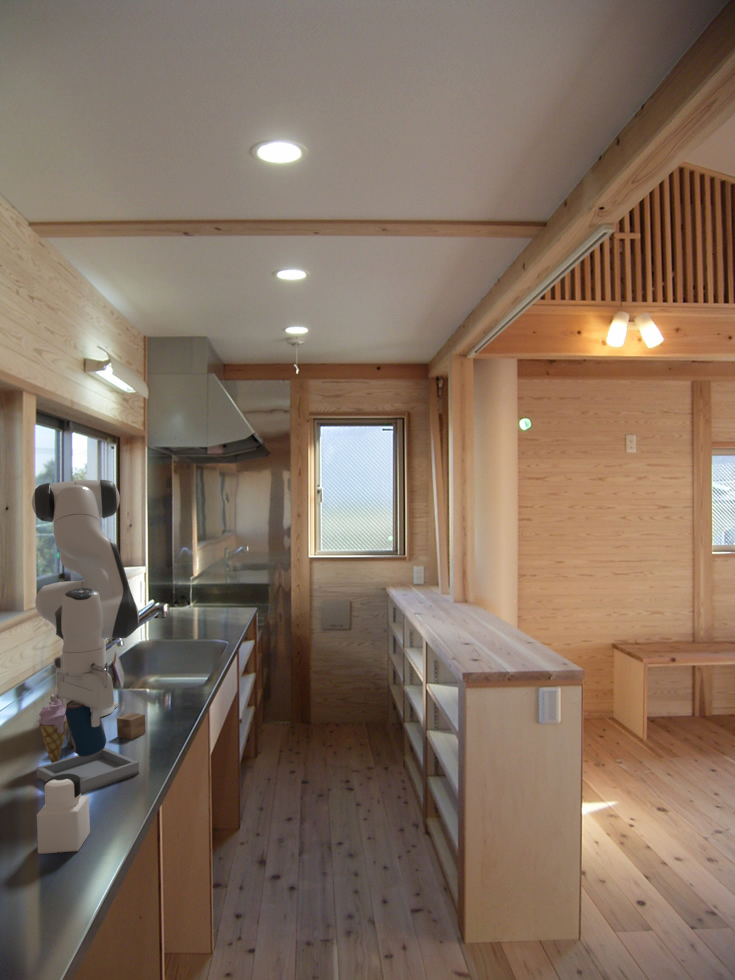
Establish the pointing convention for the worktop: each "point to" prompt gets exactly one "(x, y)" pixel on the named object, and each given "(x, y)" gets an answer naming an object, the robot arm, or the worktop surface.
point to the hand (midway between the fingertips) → (86, 722)
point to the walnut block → (131, 725)
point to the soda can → (84, 730)
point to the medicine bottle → (63, 816)
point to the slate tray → (92, 769)
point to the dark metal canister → (68, 739)
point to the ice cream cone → (53, 728)
